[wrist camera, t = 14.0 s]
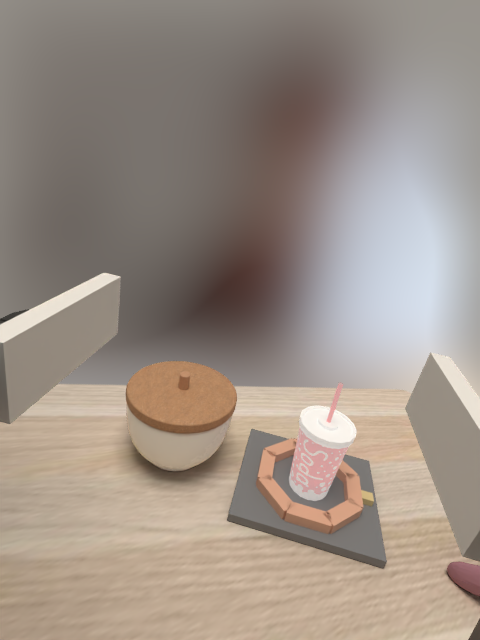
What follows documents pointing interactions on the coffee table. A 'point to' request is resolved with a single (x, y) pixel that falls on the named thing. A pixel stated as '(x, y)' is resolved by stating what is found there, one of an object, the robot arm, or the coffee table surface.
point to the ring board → (308, 502)
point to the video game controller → (465, 576)
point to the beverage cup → (320, 449)
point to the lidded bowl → (178, 413)
